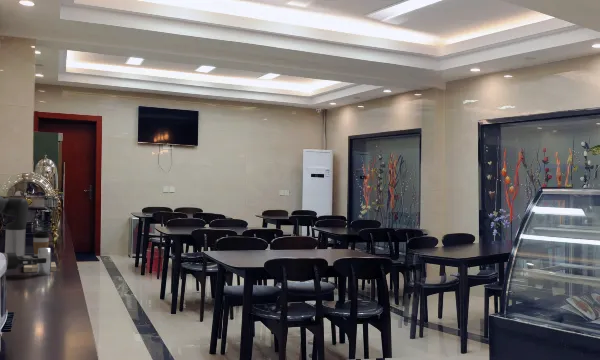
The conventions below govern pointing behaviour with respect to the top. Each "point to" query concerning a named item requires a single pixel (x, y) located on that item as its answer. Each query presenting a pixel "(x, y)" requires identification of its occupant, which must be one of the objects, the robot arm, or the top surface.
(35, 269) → the mounting board
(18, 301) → the top surface
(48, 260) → the grey cylinder
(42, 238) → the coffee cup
